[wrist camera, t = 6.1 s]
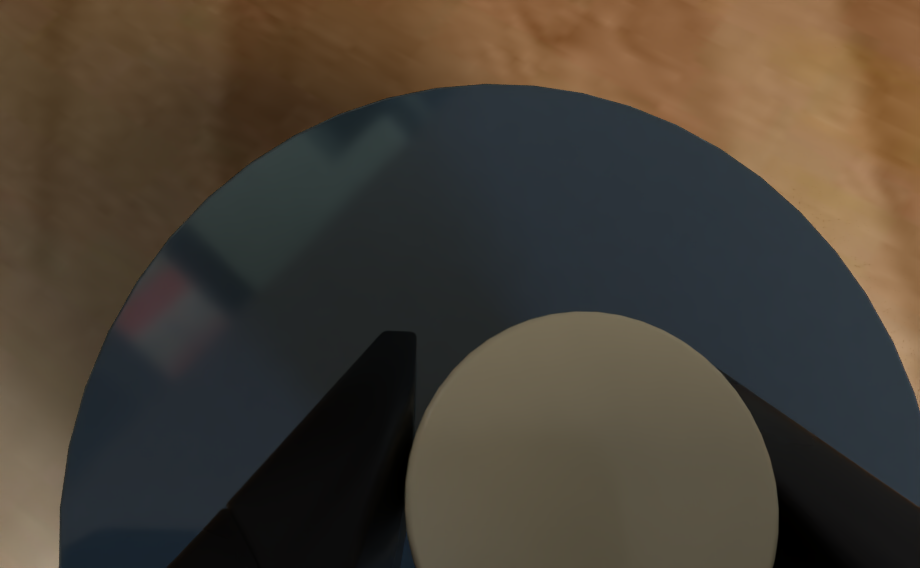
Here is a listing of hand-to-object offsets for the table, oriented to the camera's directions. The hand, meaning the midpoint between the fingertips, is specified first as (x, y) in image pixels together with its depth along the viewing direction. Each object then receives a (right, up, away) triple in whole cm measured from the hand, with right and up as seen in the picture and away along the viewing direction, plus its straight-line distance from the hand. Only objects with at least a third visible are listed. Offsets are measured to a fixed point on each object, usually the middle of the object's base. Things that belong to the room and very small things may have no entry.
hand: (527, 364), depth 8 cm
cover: (0, -3, +6) cm, 7 cm away
